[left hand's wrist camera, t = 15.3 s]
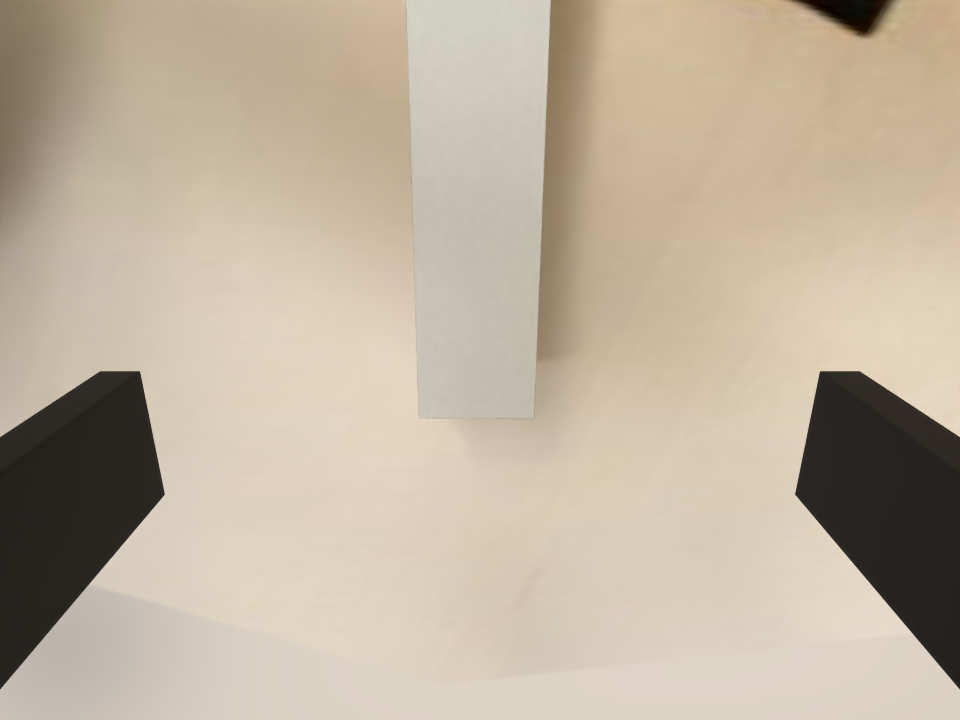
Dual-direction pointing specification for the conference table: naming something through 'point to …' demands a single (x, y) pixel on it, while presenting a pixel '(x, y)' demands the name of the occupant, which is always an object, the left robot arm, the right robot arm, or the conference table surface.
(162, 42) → the conference table surface
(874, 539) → the left robot arm
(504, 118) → the beam
